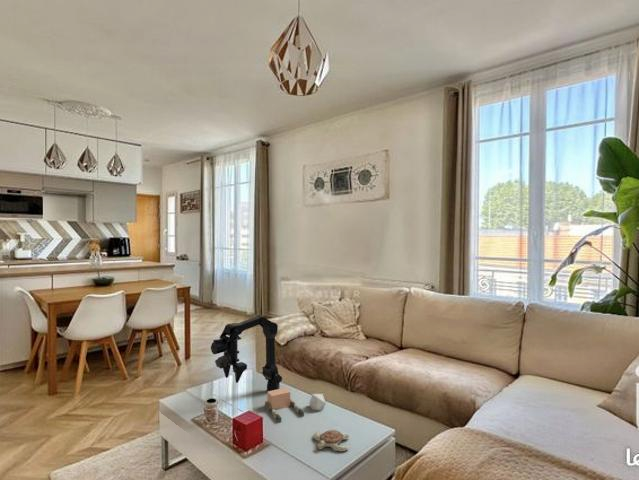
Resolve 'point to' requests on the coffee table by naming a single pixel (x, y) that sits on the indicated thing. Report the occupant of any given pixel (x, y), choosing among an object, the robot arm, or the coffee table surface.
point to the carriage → (278, 398)
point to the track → (277, 413)
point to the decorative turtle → (331, 440)
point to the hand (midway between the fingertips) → (231, 380)
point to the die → (317, 402)
